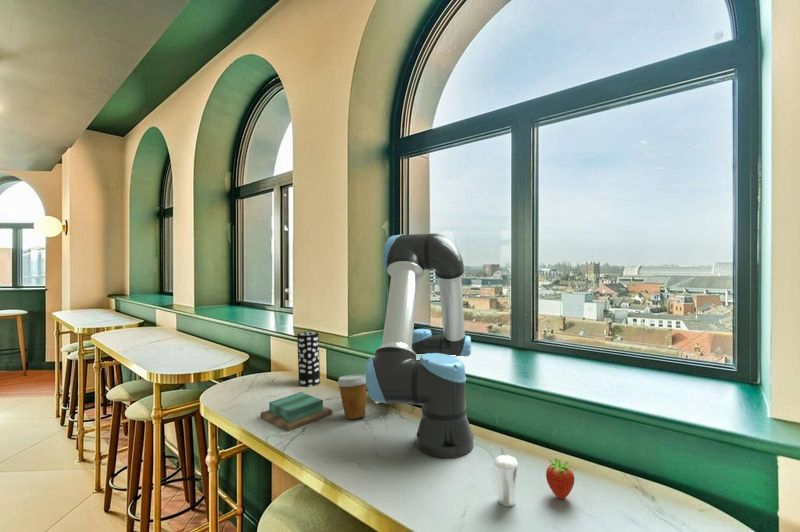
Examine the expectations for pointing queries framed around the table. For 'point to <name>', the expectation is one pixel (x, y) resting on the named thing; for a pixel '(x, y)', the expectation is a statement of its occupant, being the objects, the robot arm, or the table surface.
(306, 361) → the white-spotted black cylinder
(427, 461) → the table surface
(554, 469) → the fruit
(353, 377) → the disposable coffee cup
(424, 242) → the robot arm
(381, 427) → the table surface
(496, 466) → the milkshake
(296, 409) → the display stand
